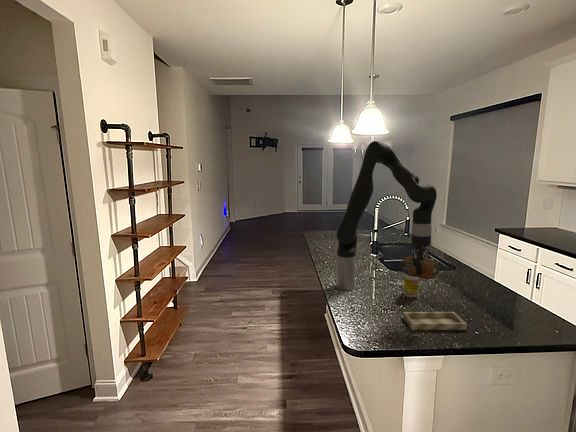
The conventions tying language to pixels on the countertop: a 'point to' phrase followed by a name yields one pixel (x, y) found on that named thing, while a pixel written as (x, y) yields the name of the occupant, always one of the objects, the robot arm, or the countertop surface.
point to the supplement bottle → (411, 286)
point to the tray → (434, 321)
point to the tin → (428, 268)
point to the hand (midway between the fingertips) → (419, 273)
